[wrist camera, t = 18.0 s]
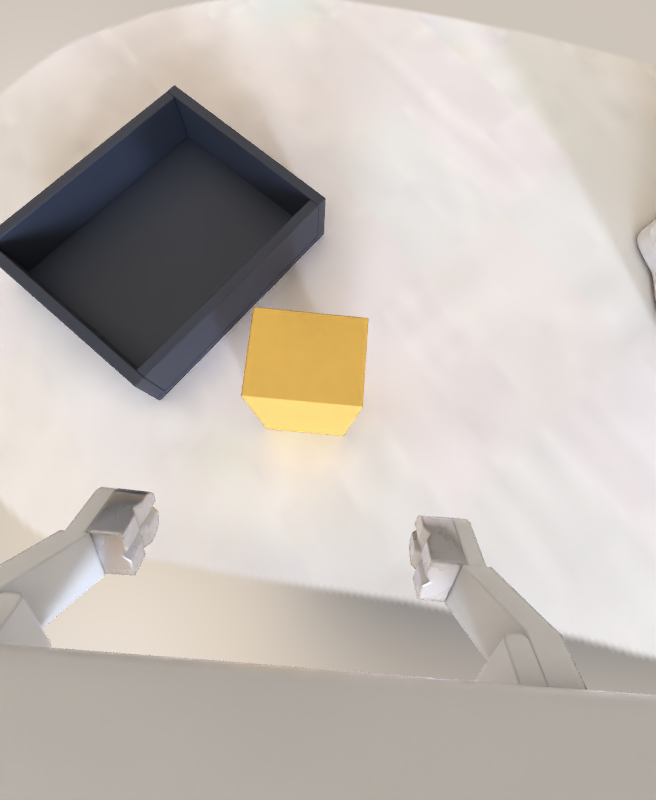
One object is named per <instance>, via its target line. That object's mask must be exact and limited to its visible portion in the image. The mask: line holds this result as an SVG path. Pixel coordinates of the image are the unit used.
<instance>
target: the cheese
mask: <svg viewBox="0 0 656 800" xmlns="http://www.w3.org/2000/svg"><path fill="white" fill-rule="evenodd" d="M367 334H368V318H360V317H350V316H340V315H330V314H320V313H310V312H300V311H289V310H279V309H269V308H259V307H254V308H253V315H252V323H251V330H250V337H249V344H248V351H247V358H246V365H245V372H244V379H243V386H242V393H241V396H242V398H243V399H244V400H245V401H246V403H247V404H248V405H249V407H250V408H251V409H252V410H253V412H254V413H255V414H256V416H257V417H258V418H259V419H260V421H261V422H262V423H263V425H264V426H265V427H266V428H267V429H274V430H285V431H296V432H307V433H318V434H329V435H340V436H344V435H345V433H346V431H347V430H348V428H349V427H350V425H351V424H352V422H353V421H354V419H355V418H356V416H357V415H358V413H359V412H360V410H361V409H362V407H363V394H364V379H365V364H366V349H367Z"/></svg>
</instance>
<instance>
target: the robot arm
mask: <svg viewBox="0 0 656 800" xmlns="http://www.w3.org/2000/svg"><path fill="white" fill-rule="evenodd" d="M637 243H638V247H639V249H640V252H641V254H642V256H643V258H644V260H645V261H646V263H647V265H648V267H649V269H650V270H651V273H652V276H653V282H654V291H655V299H656V219H655V220H654V221H652V222H651V223H650V224H649V225H648V226H647V227H645V228H644V229H643V230H642V231H641V232H640V233H639V235H638V237H637ZM154 502H155V497H154V494H153V493H152V492H145V491H136V490H127V489H119V488H118V489H117V488H108V487H100V488H99V489H97V490H96V491H95V492H94V494H93V495H92V496H91V497H90V499H89V500H88V501H87V503H86V504H85V505H84V507H83V508H82V509H81V511H80V512H79V513H78V514H77V516H76V517H75V518H74V520H73V521H72V522H71V524H70V525H69V526H68V528H67V529H66V530H65V531H64V530H60V531H58V532H56V533H54V534H53V535H51V536H49V537H47V538H46V539H44V540H42V541H40V542H39V543H37V544H35V545H34V546H32V547H30V548H28V549H27V550H25V551H23V552H21V553H20V554H18V555H16V556H14V557H13V558H11V559H9V560H7V561H6V562H4V563H2V564H0V800H656V695H647V694H633V693H622V692H609V691H596V690H587V688H586V686H585V684H584V682H583V680H582V677H581V675H580V673H579V671H578V669H577V667H576V665H575V662H574V660H573V658H572V656H571V654H570V652H569V650H568V648H567V645H566V643H565V641H564V639H563V637H562V635H561V634H560V633H559V632H558V631H557V630H556V629H554V628H553V627H552V626H551V625H550V624H549V623H548V622H547V621H546V620H545V619H544V618H543V617H542V616H541V615H540V614H539V613H538V612H537V611H536V610H535V609H534V608H533V607H532V606H531V605H530V604H529V603H528V602H527V601H526V600H525V599H524V598H522V597H521V596H520V595H519V594H518V593H517V592H516V591H515V590H514V589H513V588H512V587H511V586H510V585H509V584H508V583H507V582H506V581H505V580H504V579H503V578H502V577H501V576H500V575H499V574H498V573H497V572H496V571H495V570H494V569H493V568H491V567H486V564H485V562H484V559H483V556H482V554H481V551H480V548H479V545H478V543H477V540H476V537H475V535H474V532H473V529H472V526H471V524H470V522H469V521H468V520H467V519H456V518H446V517H433V516H420V515H419V516H418V517H417V519H416V522H415V526H416V531H414V532H413V533H412V535H411V538H410V545H409V555H410V562H411V565H412V566H413V567H414V568H415V569H416V571H415V574H414V577H413V579H414V585H415V590H416V596H417V599H424V600H432V601H441V602H445V604H446V606H447V607H448V608H449V610H450V611H451V612H452V614H453V615H454V617H455V618H456V619H457V621H458V622H459V623H460V625H461V626H462V628H463V629H464V630H465V632H466V633H467V634H468V636H469V637H470V639H471V640H472V642H473V643H474V644H475V646H476V647H477V649H478V650H479V651H480V653H481V654H482V655H483V657H484V658H485V660H486V661H487V662H486V664H485V665H484V666H483V668H482V670H481V671H480V672H479V674H478V675H477V677H476V678H475V681H468V680H455V679H441V678H430V677H417V676H404V675H391V674H379V673H366V672H354V671H341V670H328V669H316V668H304V667H291V666H277V665H266V664H252V663H240V662H227V661H215V660H202V659H189V658H175V657H162V656H151V655H138V654H125V653H112V652H99V651H86V650H74V649H61V648H51V647H52V646H51V642H50V640H49V638H48V637H47V635H46V633H45V632H44V630H43V627H45V626H46V625H47V624H48V623H49V622H50V621H52V620H53V619H54V618H55V617H56V616H57V615H59V614H60V613H61V612H62V611H64V610H65V609H66V608H67V607H68V606H69V605H71V604H72V603H73V602H74V601H75V600H77V599H78V598H79V597H80V596H81V595H83V594H84V593H85V592H86V591H87V590H89V589H90V588H91V587H92V586H93V585H94V584H96V583H97V582H98V581H99V580H100V579H102V578H103V577H104V576H105V574H122V575H135V574H136V572H137V570H138V569H139V567H140V565H141V563H142V561H143V559H144V557H145V551H144V547H146V546H147V545H148V544H150V543H151V542H152V541H153V539H154V537H155V535H156V532H157V528H158V524H159V515H158V511H157V510H156V509H155V508H154V507H153V504H154Z"/></svg>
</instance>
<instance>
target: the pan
mask: <svg viewBox="0 0 656 800" xmlns="http://www.w3.org/2000/svg"><path fill="white" fill-rule="evenodd" d="M324 217H325V198H324V197H323V196H322V195H320V194H319V193H318V192H316V191H315V190H314V189H312V188H311V187H310V186H308V185H307V184H306V183H304V182H303V181H302V180H300V179H299V178H297V177H296V176H295V175H293V174H292V173H291V172H289V171H288V170H287V169H285V168H284V167H283V166H281V165H280V164H279V163H277V162H276V161H275V160H273V159H272V158H271V157H269V156H268V155H267V154H265V153H264V152H263V151H261V150H260V149H259V148H257V147H256V146H255V145H253V144H252V143H251V142H249V141H248V140H247V139H245V138H244V137H243V136H241V135H240V134H239V133H237V132H236V131H235V130H233V129H232V128H231V127H229V126H228V125H227V124H225V123H224V122H223V121H221V120H220V119H219V118H217V117H216V116H215V115H213V114H212V113H211V112H209V111H208V110H207V109H205V108H204V107H203V106H201V105H200V104H199V103H197V102H196V101H195V100H193V99H192V98H191V97H189V96H188V95H187V94H185V93H184V92H183V91H181V90H180V89H179V88H177V87H176V86H173V87H172V88H171V89H169V90H168V92H166V93H165V94H164V95H162V96H161V97H160V98H159V99H157V100H156V101H155V102H154V103H152V104H151V105H150V106H149V107H147V108H146V109H145V110H144V111H142V112H141V113H140V114H139V115H137V116H136V117H135V118H134V119H132V120H131V121H130V122H129V123H127V124H126V125H125V126H124V127H122V128H121V129H120V130H119V131H117V132H116V133H115V134H114V135H112V136H111V137H110V138H108V139H107V140H106V141H105V142H103V143H102V144H101V145H100V146H98V147H97V148H96V149H95V150H93V151H92V152H91V153H90V154H88V155H87V156H86V157H85V158H83V159H82V160H81V161H80V162H78V163H77V164H76V165H75V166H73V167H72V168H71V169H70V170H68V171H67V172H66V173H65V174H63V175H62V176H61V177H60V178H58V179H57V180H56V181H55V182H53V183H52V184H51V185H50V186H48V187H47V188H46V189H45V190H43V191H42V192H41V193H40V194H38V195H37V196H36V197H35V198H33V199H32V200H31V201H30V202H28V203H27V204H26V205H25V206H23V207H22V208H21V209H20V210H18V211H17V212H16V213H15V214H13V215H12V216H11V217H10V218H8V219H7V220H6V221H5V222H3V223H2V224H1V225H0V267H1V268H2V269H3V270H4V271H5V272H6V273H7V274H8V275H10V276H11V277H12V278H13V279H14V280H15V281H16V282H17V283H19V284H20V285H21V286H22V287H23V288H24V289H25V290H27V291H28V292H29V293H30V294H31V295H32V296H33V297H34V298H36V299H37V300H38V301H39V302H40V303H41V304H42V305H43V306H45V307H46V308H47V309H48V310H49V311H50V312H51V313H53V314H54V315H55V316H56V317H57V318H58V319H59V320H60V321H62V322H63V323H64V324H65V325H66V326H67V327H68V328H69V329H71V330H72V331H73V332H74V333H75V334H76V335H77V336H78V337H80V338H81V339H82V340H83V341H84V342H85V343H86V344H88V345H89V346H90V347H91V348H92V349H93V350H94V351H95V352H97V353H98V354H99V355H100V356H101V357H102V358H103V359H104V360H106V361H107V362H108V363H109V364H110V365H111V366H112V367H114V368H115V369H116V370H117V371H118V372H119V373H120V374H121V375H123V376H124V377H125V378H126V379H127V380H128V381H129V382H130V383H132V384H133V385H134V386H135V387H137V388H139V389H140V390H142V391H144V392H146V393H148V394H149V395H151V396H153V397H155V398H156V399H158V400H161V399H162V398H163V397H164V396H165V395H166V394H167V393H168V392H169V391H170V390H171V389H172V388H173V387H174V386H175V385H176V384H177V383H178V382H179V381H180V380H181V379H182V378H183V377H184V376H185V375H186V374H187V372H188V371H189V370H190V369H191V368H192V367H193V366H194V365H195V364H196V363H197V362H198V361H199V360H200V359H201V358H202V357H203V356H204V355H205V354H206V353H207V352H208V351H209V350H210V349H211V348H212V347H213V346H214V345H215V344H216V343H217V342H218V341H219V340H220V339H221V338H222V337H223V336H224V335H225V334H226V333H227V332H228V331H229V330H230V329H231V328H232V327H233V326H234V325H235V324H236V323H237V322H238V321H239V320H240V319H241V318H242V316H243V315H244V314H245V313H246V312H247V311H248V310H249V309H250V308H251V307H252V306H253V305H254V304H255V303H256V302H257V301H258V300H259V299H260V298H261V297H262V296H263V295H264V294H265V293H266V292H267V291H268V290H269V289H270V288H271V287H272V286H273V285H274V284H275V283H276V282H277V281H278V280H279V279H280V278H281V277H282V276H283V275H284V274H285V273H286V272H287V271H288V270H289V269H290V268H291V267H292V266H293V265H294V264H295V263H296V261H297V260H298V259H299V258H300V257H301V256H302V255H303V254H304V253H305V252H306V251H307V250H308V249H309V248H310V247H311V246H312V245H313V244H314V243H315V242H316V241H317V240H318V239H319V238H320V237H321V236H322V235H323V234H324Z"/></svg>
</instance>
